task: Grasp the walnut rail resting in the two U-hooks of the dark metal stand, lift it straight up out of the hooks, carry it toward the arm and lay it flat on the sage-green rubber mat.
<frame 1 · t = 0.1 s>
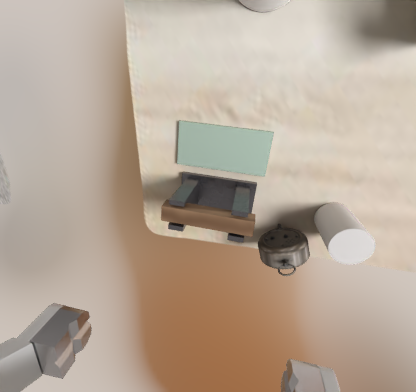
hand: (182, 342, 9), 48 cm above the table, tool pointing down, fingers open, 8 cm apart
rail: (209, 213, 48), point 12 cm above the table, touching hook stand
hook stand: (217, 192, 59), on the table
mat: (222, 148, 54), on the table
white cylinder: (332, 217, 56), on the table
alarm clock: (279, 230, 60), on the table
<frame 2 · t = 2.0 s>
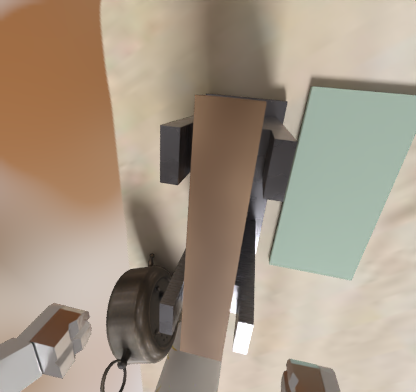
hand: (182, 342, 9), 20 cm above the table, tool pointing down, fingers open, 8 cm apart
rail: (219, 232, 17), point 12 cm above the table, touching hook stand
hook stand: (234, 179, 28), on the table
mat: (332, 194, 26), on the table
white cylinder: (200, 333, 40), on the table
alarm clock: (168, 275, 36), on the table
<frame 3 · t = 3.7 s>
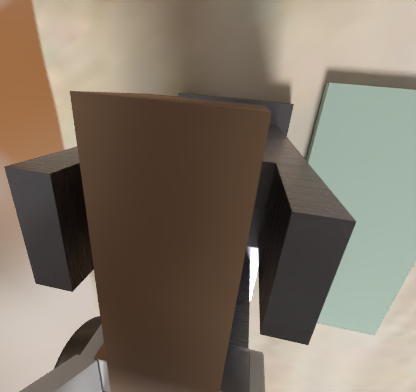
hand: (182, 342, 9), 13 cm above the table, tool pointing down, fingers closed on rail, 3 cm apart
rail: (187, 325, 10), point 12 cm above the table, touching gripper, hook stand
hook stand: (222, 207, 21), on the table
mat: (352, 227, 20), on the table
alarm clock: (143, 318, 29), on the table
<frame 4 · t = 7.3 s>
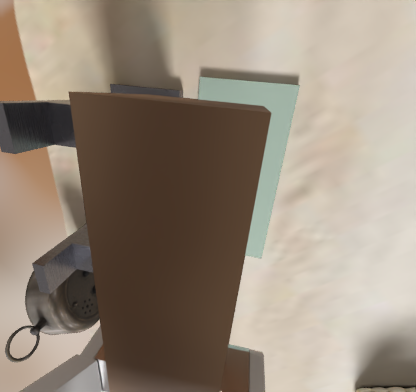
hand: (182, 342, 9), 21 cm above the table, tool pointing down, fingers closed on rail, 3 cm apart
rail: (187, 326, 10), point 21 cm above the table, touching gripper
hook stand: (149, 164, 30), on the table
mat: (235, 177, 29), on the table
alarm clock: (105, 257, 38), on the table
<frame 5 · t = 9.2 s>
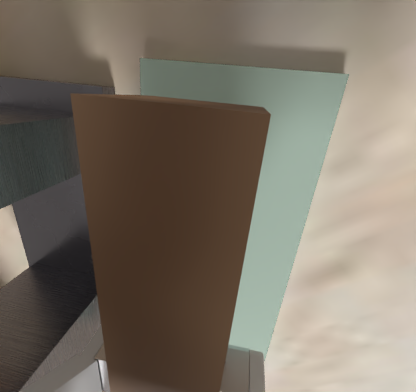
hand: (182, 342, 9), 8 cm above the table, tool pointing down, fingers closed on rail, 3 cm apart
rail: (187, 326, 10), point 7 cm above the table, touching gripper
hook stand: (74, 213, 18), on the table
mat: (217, 239, 16), on the table
when the fingers open (3 cm above the table, at t = 10.8 s): rail drops 1 cm, resting on mat.
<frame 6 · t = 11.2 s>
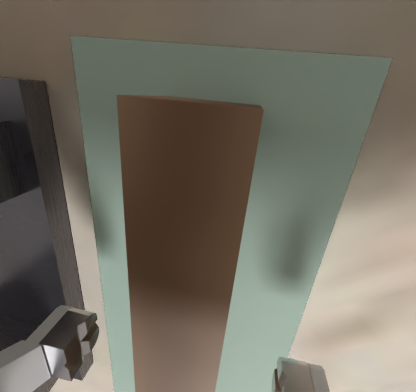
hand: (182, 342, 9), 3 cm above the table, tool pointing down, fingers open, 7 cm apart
rail: (194, 298, 11), point 1 cm above the table, touching mat
hook stand: (13, 247, 14), on the table
mat: (198, 285, 12), on the table
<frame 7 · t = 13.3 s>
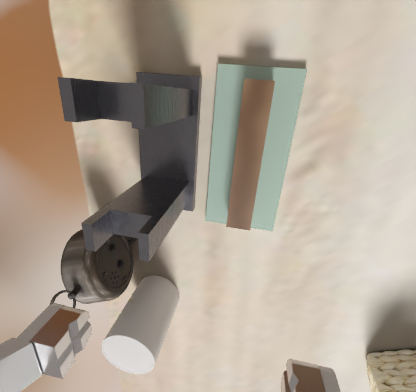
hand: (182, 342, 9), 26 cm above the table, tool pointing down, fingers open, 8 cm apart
rail: (248, 157, 31), point 1 cm above the table, touching mat
hook stand: (170, 146, 33), on the table
storage basket: (413, 387, 42), on the table
mat: (248, 155, 32), on the table
white cylinder: (159, 291, 45), on the table
alarm clock: (126, 237, 41), on the table
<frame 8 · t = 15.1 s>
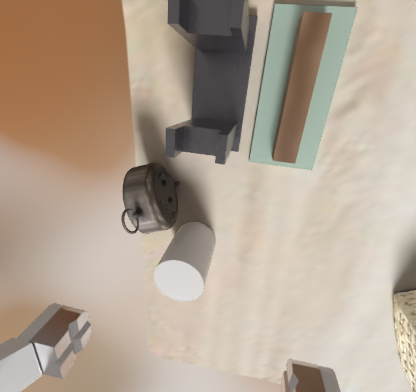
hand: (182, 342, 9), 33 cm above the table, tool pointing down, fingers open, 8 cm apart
rail: (295, 96, 34), point 1 cm above the table, touching mat
hook stand: (220, 88, 36), on the table
mat: (294, 95, 34), on the table
white cylinder: (195, 238, 48), on the table
alarm clock: (168, 184, 44), on the table
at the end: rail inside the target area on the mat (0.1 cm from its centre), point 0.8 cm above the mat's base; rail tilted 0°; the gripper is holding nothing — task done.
